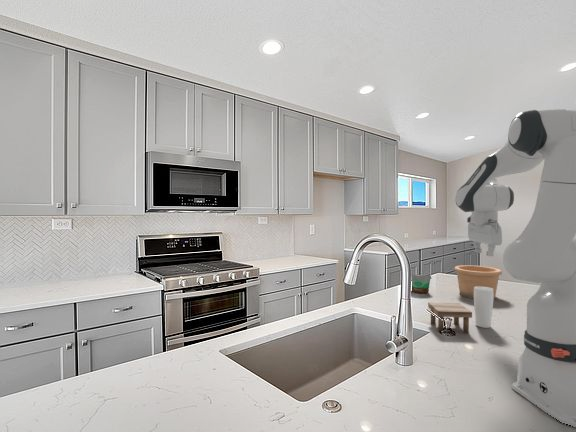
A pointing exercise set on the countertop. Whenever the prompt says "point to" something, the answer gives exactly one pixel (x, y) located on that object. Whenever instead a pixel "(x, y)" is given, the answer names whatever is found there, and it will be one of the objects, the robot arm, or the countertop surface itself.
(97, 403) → the countertop surface
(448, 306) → the walnut stool
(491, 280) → the pottery
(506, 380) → the countertop surface
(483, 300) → the drinking glass
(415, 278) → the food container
